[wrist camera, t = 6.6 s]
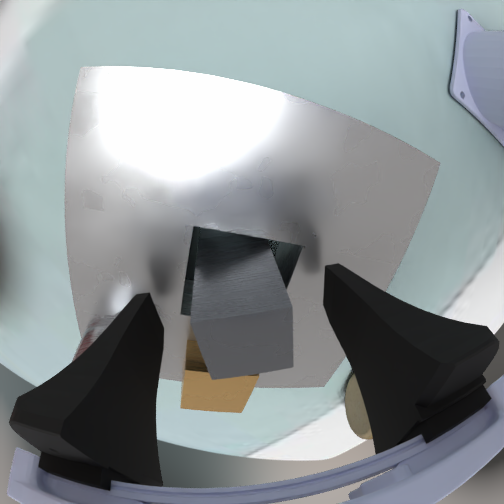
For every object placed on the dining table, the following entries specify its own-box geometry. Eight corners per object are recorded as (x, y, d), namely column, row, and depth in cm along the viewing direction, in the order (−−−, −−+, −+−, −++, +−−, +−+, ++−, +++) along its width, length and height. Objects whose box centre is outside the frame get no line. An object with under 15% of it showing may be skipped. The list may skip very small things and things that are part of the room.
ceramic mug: (356, 351, 20) (391, 427, 14) (425, 335, 21) (463, 394, 15) (326, 409, 26) (344, 467, 19) (386, 394, 27) (409, 444, 20)
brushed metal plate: (406, 150, 13) (484, 181, 8) (313, 356, 20) (335, 420, 15) (108, 74, 9) (37, 57, 4) (99, 331, 16) (75, 400, 11)
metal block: (258, 217, 14) (292, 306, 8) (264, 267, 15) (293, 367, 9) (200, 226, 14) (190, 322, 8) (211, 275, 15) (212, 380, 9)
